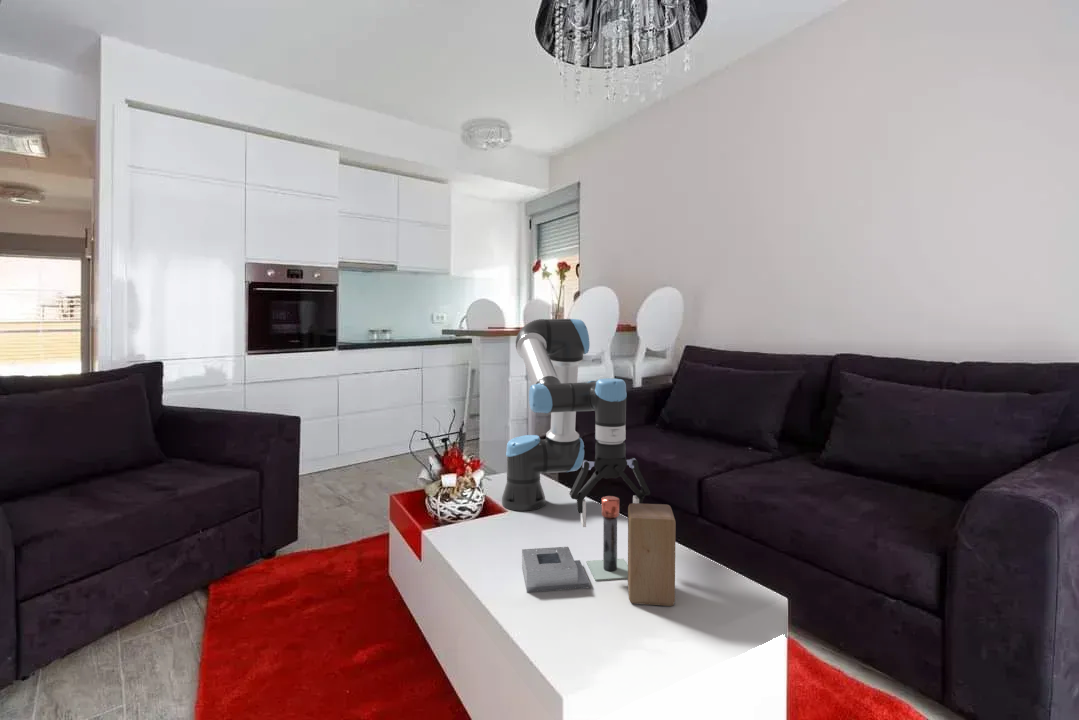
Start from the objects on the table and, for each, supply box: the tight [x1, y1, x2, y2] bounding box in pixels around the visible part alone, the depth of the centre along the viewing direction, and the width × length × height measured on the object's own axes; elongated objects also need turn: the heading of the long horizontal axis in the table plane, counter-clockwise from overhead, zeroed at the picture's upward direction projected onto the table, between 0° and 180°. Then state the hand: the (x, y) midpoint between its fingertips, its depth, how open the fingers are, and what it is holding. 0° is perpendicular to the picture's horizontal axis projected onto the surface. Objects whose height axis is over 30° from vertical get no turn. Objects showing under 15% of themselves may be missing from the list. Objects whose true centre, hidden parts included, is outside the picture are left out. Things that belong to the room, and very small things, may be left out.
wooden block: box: [627, 502, 677, 607], centre depth 117 cm, size 10×10×20 cm
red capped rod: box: [601, 495, 620, 572], centre depth 130 cm, size 4×4×18 cm
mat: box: [586, 558, 628, 582], centre depth 130 cm, size 10×10×1 cm
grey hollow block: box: [521, 546, 591, 593], centre depth 126 cm, size 12×15×5 cm
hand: (609, 523), depth 130 cm, fingers open, 13 cm apart
